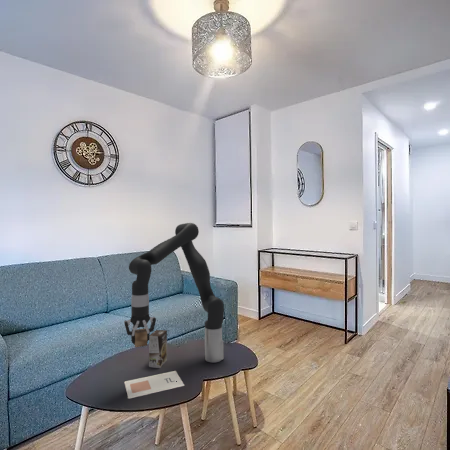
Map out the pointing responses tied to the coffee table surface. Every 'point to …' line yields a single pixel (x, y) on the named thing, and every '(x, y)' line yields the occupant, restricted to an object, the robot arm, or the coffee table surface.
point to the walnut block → (140, 338)
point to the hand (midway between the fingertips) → (140, 342)
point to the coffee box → (157, 348)
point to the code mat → (152, 384)
